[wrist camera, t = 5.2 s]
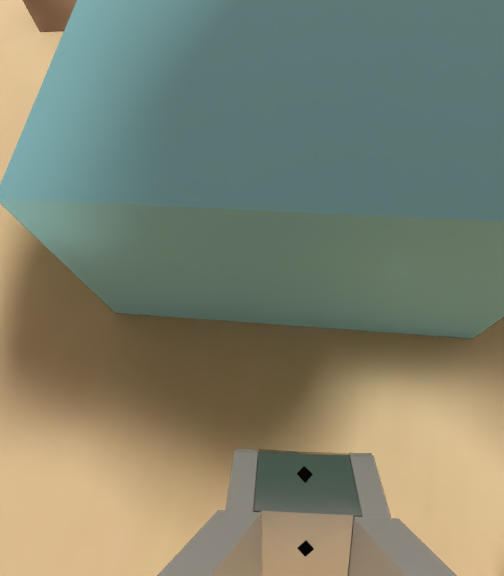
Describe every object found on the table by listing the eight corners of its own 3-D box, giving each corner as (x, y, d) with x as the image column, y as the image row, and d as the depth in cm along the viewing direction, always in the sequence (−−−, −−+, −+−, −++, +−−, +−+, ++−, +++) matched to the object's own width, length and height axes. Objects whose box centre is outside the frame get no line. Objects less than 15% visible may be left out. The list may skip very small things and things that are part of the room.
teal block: (442, 107, 20) (532, -93, 13) (469, 340, 16) (635, 227, 8) (168, 101, 22) (111, -84, 15) (116, 314, 17) (-6, 198, 10)
